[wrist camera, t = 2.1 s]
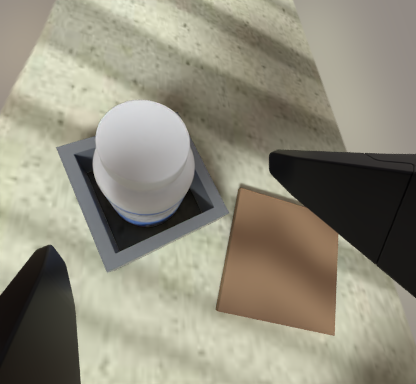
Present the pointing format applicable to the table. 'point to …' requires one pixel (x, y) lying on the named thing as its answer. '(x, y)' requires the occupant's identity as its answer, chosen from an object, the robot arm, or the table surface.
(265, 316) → the walnut coaster
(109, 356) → the table surface
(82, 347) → the table surface
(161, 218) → the pill bottle
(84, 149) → the holder box
